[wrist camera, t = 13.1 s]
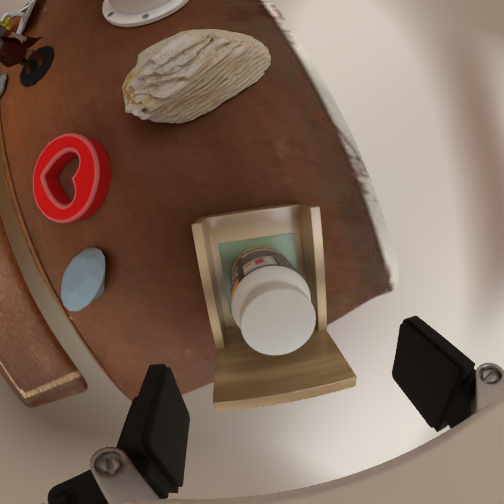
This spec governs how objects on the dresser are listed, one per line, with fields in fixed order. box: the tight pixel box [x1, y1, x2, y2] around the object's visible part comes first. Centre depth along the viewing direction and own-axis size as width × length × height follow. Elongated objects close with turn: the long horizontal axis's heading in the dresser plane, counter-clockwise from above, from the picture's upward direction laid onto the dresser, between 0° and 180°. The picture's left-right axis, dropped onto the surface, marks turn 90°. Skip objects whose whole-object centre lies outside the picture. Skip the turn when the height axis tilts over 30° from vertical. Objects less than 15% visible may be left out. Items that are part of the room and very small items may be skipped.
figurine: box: [0, 26, 54, 87], centre depth 13 cm, size 7×7×15 cm
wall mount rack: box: [1, 0, 36, 35], centre depth 14 cm, size 16×14×6 cm
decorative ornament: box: [33, 133, 111, 223], centre depth 23 cm, size 10×10×3 cm
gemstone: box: [61, 247, 105, 311], centre depth 26 cm, size 8×8×5 cm
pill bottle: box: [230, 246, 316, 355], centre depth 21 cm, size 6×6×10 cm
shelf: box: [191, 203, 356, 412], centre depth 22 cm, size 12×10×14 cm
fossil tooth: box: [122, 29, 271, 124], centre depth 19 cm, size 12×6×15 cm
